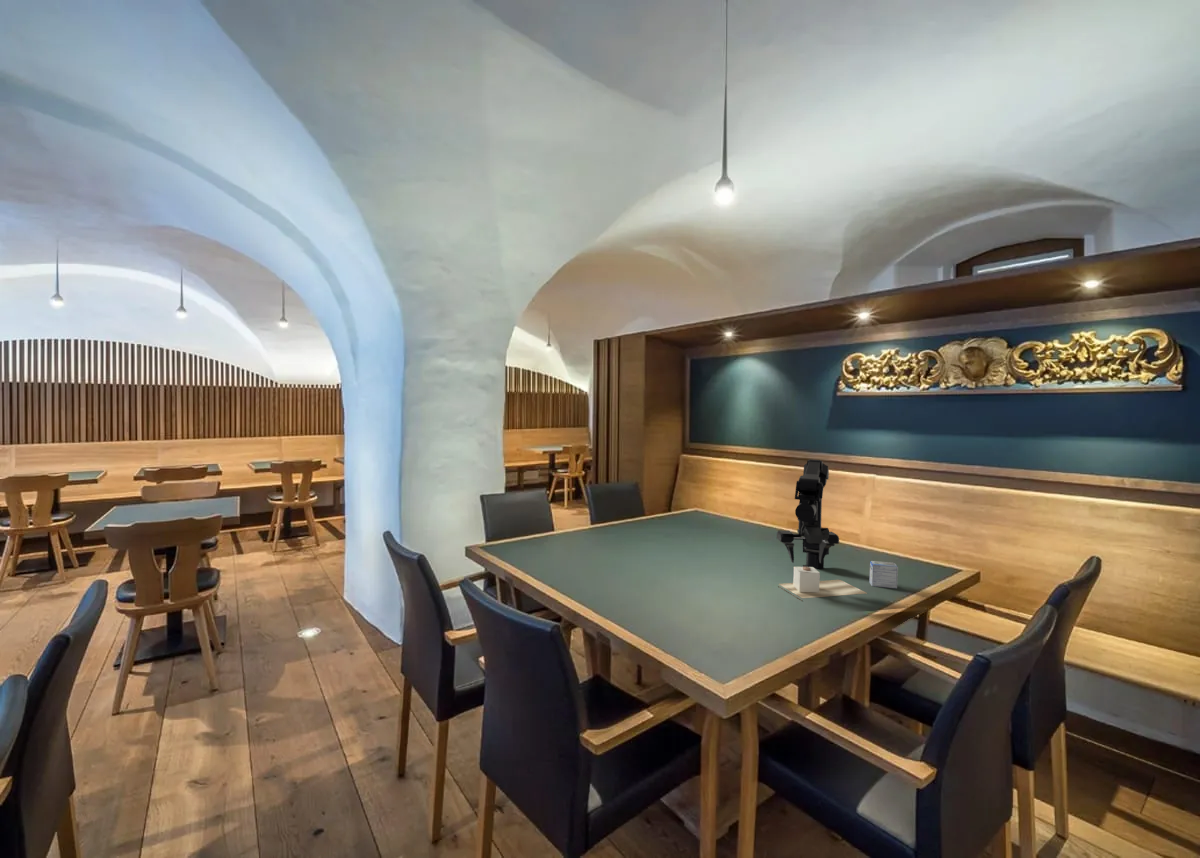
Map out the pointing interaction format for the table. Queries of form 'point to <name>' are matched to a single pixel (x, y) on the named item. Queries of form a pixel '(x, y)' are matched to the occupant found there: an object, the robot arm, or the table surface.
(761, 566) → the table surface
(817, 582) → the knobbed cube
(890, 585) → the medicine box
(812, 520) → the robot arm
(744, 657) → the table surface
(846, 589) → the tan board
